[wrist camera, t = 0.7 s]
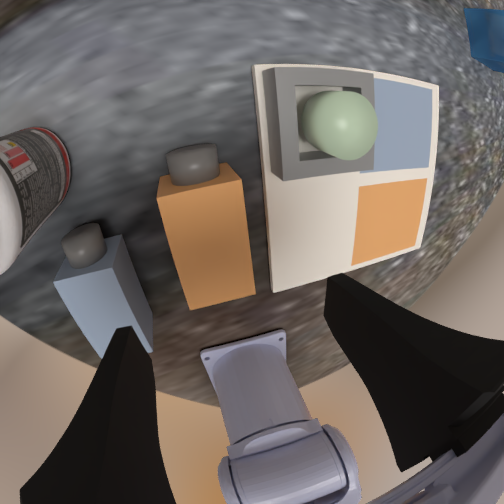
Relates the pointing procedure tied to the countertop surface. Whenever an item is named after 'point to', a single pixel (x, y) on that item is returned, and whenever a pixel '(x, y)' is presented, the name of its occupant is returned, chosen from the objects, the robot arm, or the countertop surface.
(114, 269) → the grey-capped blue block
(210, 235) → the orange marker
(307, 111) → the button
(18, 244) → the pill bottle
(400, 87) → the sheet
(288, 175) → the button housing
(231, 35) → the countertop surface
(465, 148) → the countertop surface
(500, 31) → the perfume bottle
